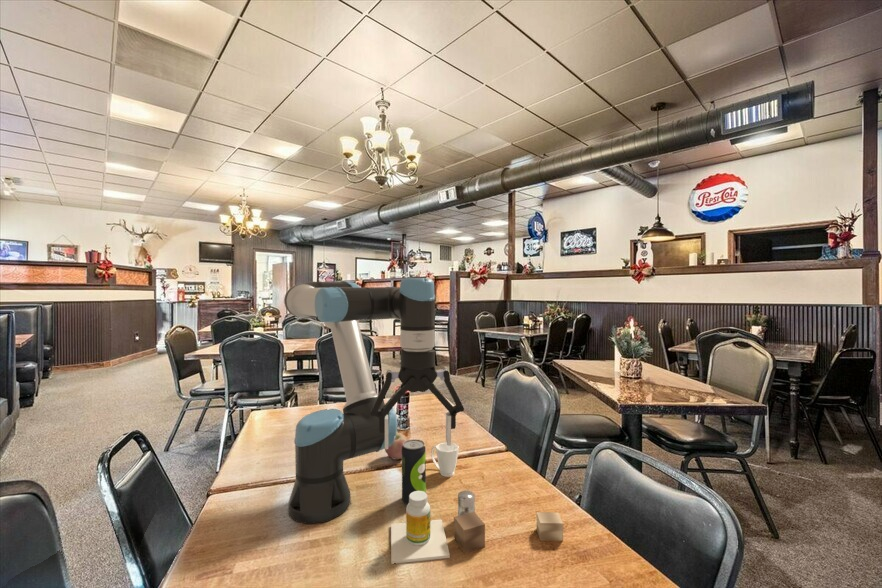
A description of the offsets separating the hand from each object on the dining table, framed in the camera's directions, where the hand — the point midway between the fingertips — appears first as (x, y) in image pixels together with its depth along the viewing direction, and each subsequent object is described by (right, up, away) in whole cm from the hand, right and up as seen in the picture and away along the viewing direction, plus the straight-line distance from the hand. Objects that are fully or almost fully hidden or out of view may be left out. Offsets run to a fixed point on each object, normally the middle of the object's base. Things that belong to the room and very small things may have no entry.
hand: (417, 445), depth 82 cm
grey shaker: (+11, -21, +8) cm, 25 cm away
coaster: (0, -21, 0) cm, 21 cm away
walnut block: (+11, -21, 0) cm, 24 cm away
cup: (+6, -21, +31) cm, 38 cm away
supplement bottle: (0, -21, 0) cm, 21 cm away
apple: (-9, -21, +40) cm, 46 cm away
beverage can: (-2, -21, +16) cm, 27 cm away
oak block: (+30, -21, +2) cm, 37 cm away
